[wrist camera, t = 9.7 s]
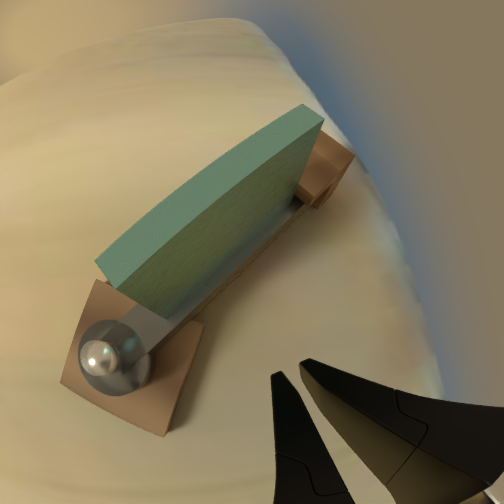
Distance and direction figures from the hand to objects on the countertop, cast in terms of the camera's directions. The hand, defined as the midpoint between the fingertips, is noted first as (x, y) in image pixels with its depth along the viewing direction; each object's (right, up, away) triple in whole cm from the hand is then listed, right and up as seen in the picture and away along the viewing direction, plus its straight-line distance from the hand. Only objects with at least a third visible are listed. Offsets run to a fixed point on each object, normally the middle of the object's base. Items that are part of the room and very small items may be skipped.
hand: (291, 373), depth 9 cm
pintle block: (-9, -3, +8) cm, 13 cm away
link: (-4, +2, +8) cm, 10 cm away
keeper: (+2, +8, +13) cm, 15 cm away
